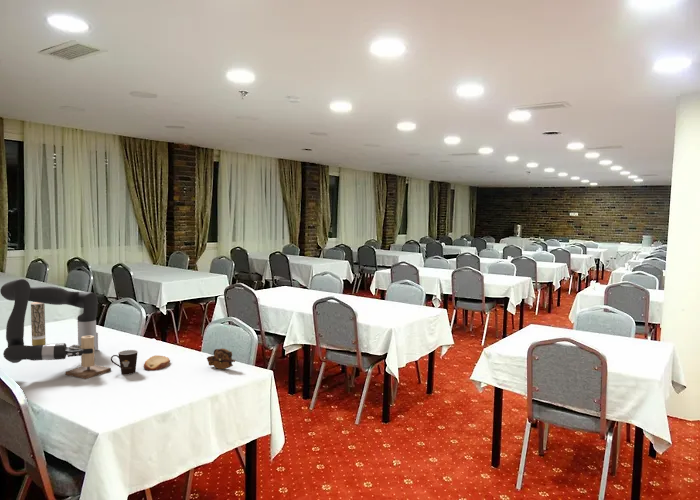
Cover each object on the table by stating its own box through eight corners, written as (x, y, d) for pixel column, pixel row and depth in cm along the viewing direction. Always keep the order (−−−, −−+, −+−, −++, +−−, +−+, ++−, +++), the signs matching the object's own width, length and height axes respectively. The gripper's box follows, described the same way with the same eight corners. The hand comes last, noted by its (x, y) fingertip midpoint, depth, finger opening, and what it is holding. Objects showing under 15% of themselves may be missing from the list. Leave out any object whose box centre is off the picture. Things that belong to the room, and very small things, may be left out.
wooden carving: (204, 368, 259) (204, 348, 259) (209, 365, 264) (209, 346, 263) (232, 371, 254) (232, 351, 253) (237, 369, 258) (237, 349, 257)
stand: (91, 366, 259) (91, 352, 258) (110, 370, 253) (110, 355, 252) (65, 374, 246) (65, 359, 245) (85, 378, 240) (85, 363, 239)
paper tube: (39, 347, 296) (38, 304, 294) (29, 346, 297) (27, 303, 295) (48, 344, 302) (47, 302, 300) (38, 343, 304) (37, 301, 302)
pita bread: (160, 358, 277) (160, 351, 277) (181, 364, 267) (181, 357, 266) (129, 366, 262) (129, 358, 262) (150, 372, 252) (150, 365, 252)
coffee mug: (141, 370, 253) (141, 350, 252) (129, 376, 245) (128, 355, 244) (123, 368, 257) (122, 348, 256) (109, 373, 249) (109, 353, 248)
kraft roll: (89, 363, 252) (88, 335, 252) (96, 364, 250) (96, 336, 249) (79, 365, 248) (78, 337, 247) (86, 367, 245) (86, 338, 244)
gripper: (50, 347, 237) (91, 345, 242) (57, 340, 250) (95, 338, 256) (51, 363, 237) (91, 360, 243) (57, 355, 251) (95, 353, 256)
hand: (93, 349), depth 249 cm, fingers closed on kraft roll, 5 cm apart
